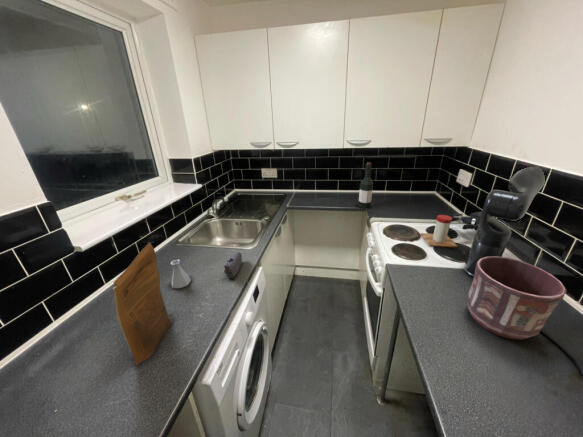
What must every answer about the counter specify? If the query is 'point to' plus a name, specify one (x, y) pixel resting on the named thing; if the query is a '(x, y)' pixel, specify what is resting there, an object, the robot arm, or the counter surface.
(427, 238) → the wooden trivet
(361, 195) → the wine bottle
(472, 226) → the robot arm
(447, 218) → the jam lid
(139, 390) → the counter surface
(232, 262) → the perforated stone tool
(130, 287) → the pancake mix bag
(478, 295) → the pottery
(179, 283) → the flask
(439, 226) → the jam jar
